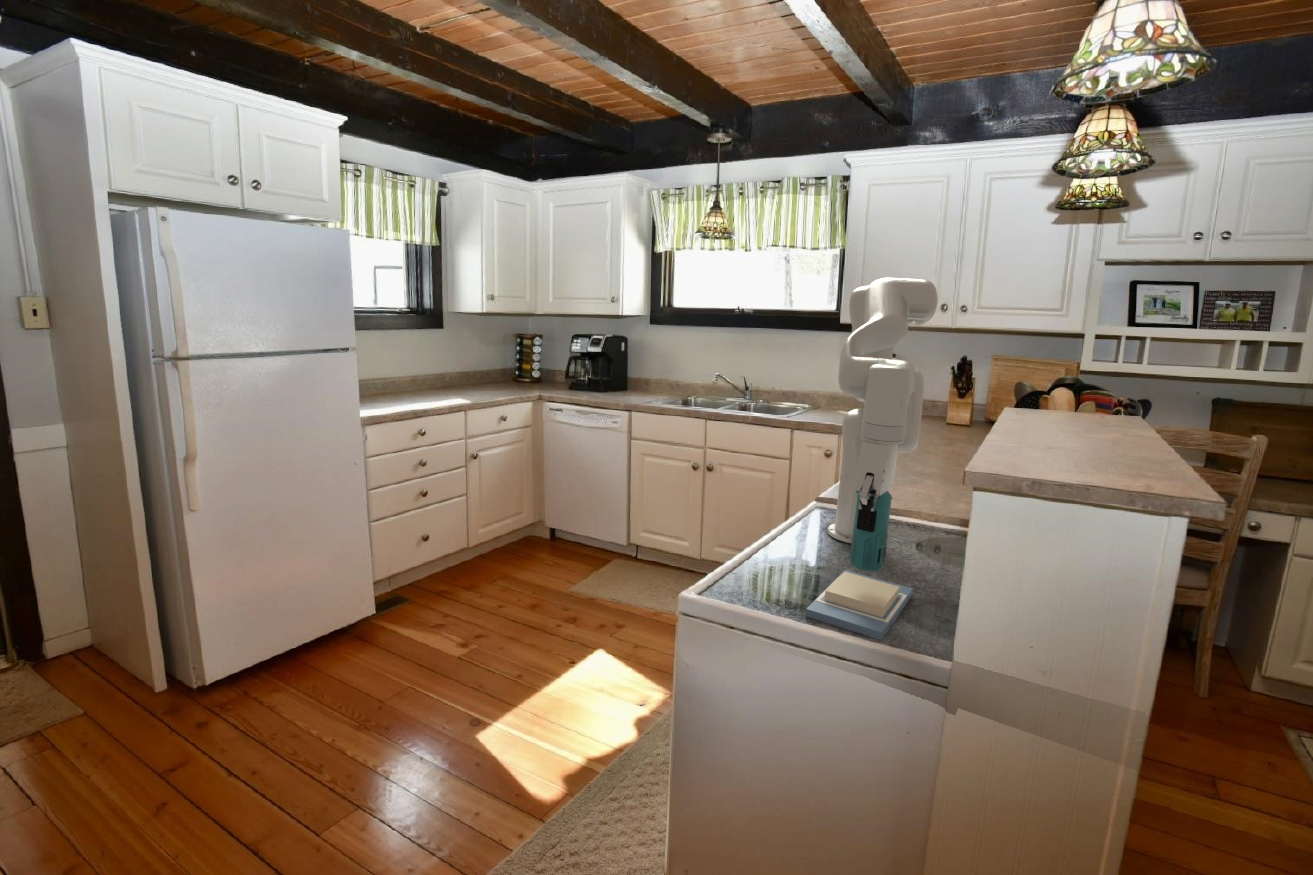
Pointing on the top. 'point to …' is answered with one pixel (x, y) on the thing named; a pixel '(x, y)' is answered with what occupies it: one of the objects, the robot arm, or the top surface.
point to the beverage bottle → (871, 537)
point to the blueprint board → (856, 618)
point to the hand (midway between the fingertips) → (871, 524)
